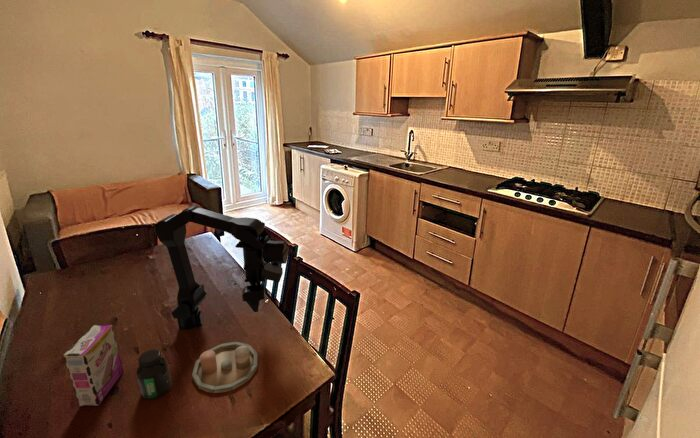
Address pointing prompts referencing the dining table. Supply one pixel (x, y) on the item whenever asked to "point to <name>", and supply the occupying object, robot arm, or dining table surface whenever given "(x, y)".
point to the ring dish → (225, 369)
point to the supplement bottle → (153, 375)
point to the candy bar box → (94, 365)
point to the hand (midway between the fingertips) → (256, 303)
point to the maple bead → (242, 357)
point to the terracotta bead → (208, 362)
